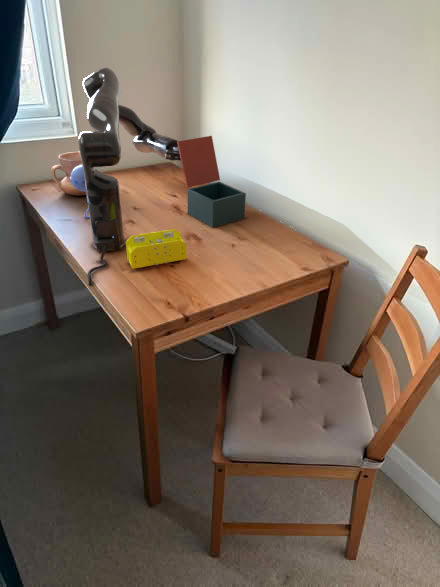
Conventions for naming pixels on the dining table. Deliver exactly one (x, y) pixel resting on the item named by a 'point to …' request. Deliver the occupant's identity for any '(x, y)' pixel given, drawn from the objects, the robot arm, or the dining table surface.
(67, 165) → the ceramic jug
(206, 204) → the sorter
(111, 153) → the robot arm
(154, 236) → the yellow toy chassis
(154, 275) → the dining table surface
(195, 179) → the sorter lid
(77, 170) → the baby rattle
